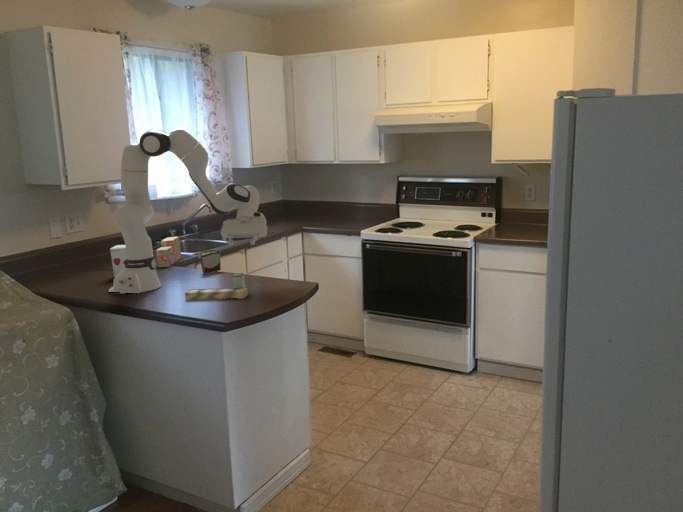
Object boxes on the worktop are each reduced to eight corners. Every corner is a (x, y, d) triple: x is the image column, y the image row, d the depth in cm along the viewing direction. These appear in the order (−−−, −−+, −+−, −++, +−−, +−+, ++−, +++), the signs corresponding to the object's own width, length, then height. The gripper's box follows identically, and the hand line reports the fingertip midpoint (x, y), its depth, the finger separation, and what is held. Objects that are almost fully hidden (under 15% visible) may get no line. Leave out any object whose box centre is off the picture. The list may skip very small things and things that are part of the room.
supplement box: (113, 278, 294) (109, 248, 291) (119, 274, 303) (115, 245, 300) (132, 277, 294) (128, 247, 291) (137, 272, 303) (133, 243, 300)
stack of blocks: (169, 267, 312) (166, 243, 309) (157, 267, 312) (154, 244, 310) (181, 257, 333) (178, 236, 330) (170, 258, 333) (167, 236, 331)
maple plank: (185, 299, 248) (184, 292, 247) (190, 296, 253) (189, 289, 252) (244, 298, 244) (243, 290, 243) (247, 294, 249) (247, 287, 248)
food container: (215, 268, 302) (212, 248, 300) (223, 269, 298) (220, 249, 296) (195, 273, 292) (192, 253, 290) (202, 275, 289) (200, 254, 286)
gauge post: (233, 294, 251) (231, 275, 250) (236, 291, 255) (234, 273, 253) (243, 294, 251) (241, 275, 249) (245, 291, 254) (243, 273, 253)
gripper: (221, 215, 267) (216, 241, 260) (266, 213, 264) (262, 239, 257) (226, 223, 273) (220, 249, 265) (270, 221, 270) (265, 247, 262)
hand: (241, 244), depth 261 cm, fingers open, 8 cm apart
